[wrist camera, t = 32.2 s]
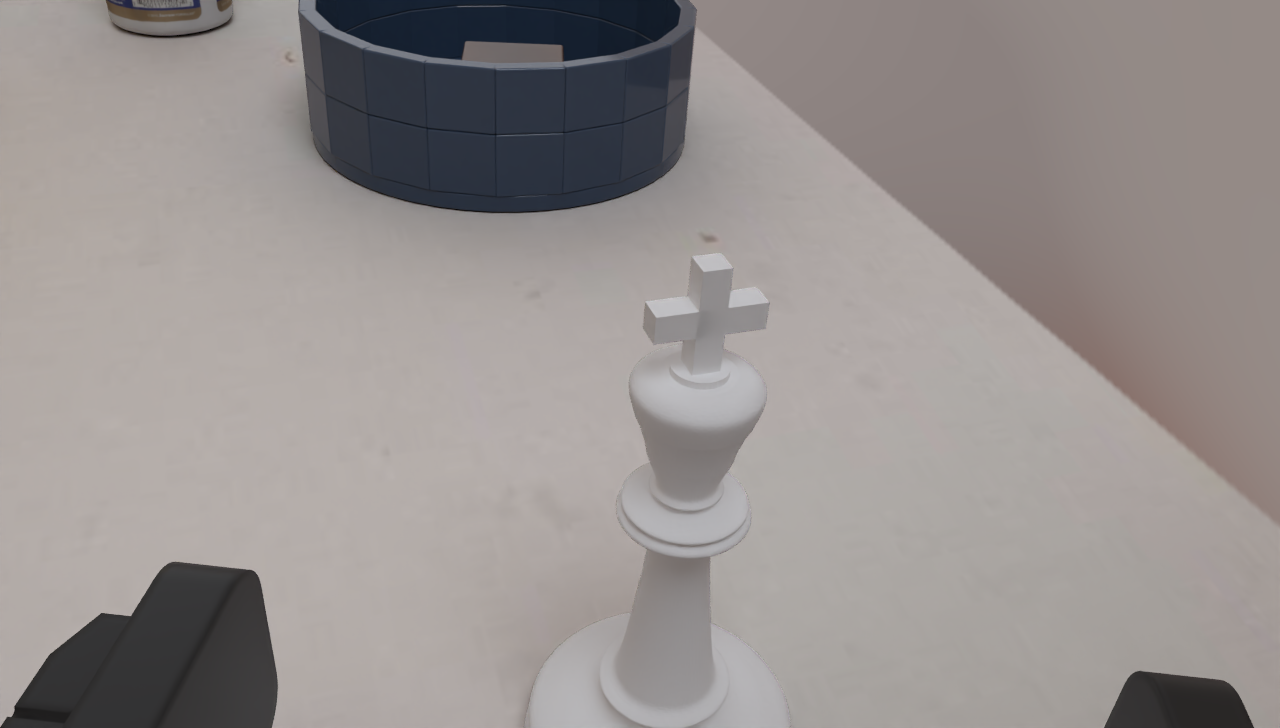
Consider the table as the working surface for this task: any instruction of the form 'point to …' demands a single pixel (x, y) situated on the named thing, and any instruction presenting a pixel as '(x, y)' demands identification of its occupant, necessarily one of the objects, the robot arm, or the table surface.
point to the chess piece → (677, 535)
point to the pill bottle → (169, 15)
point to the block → (511, 52)
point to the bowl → (498, 98)
